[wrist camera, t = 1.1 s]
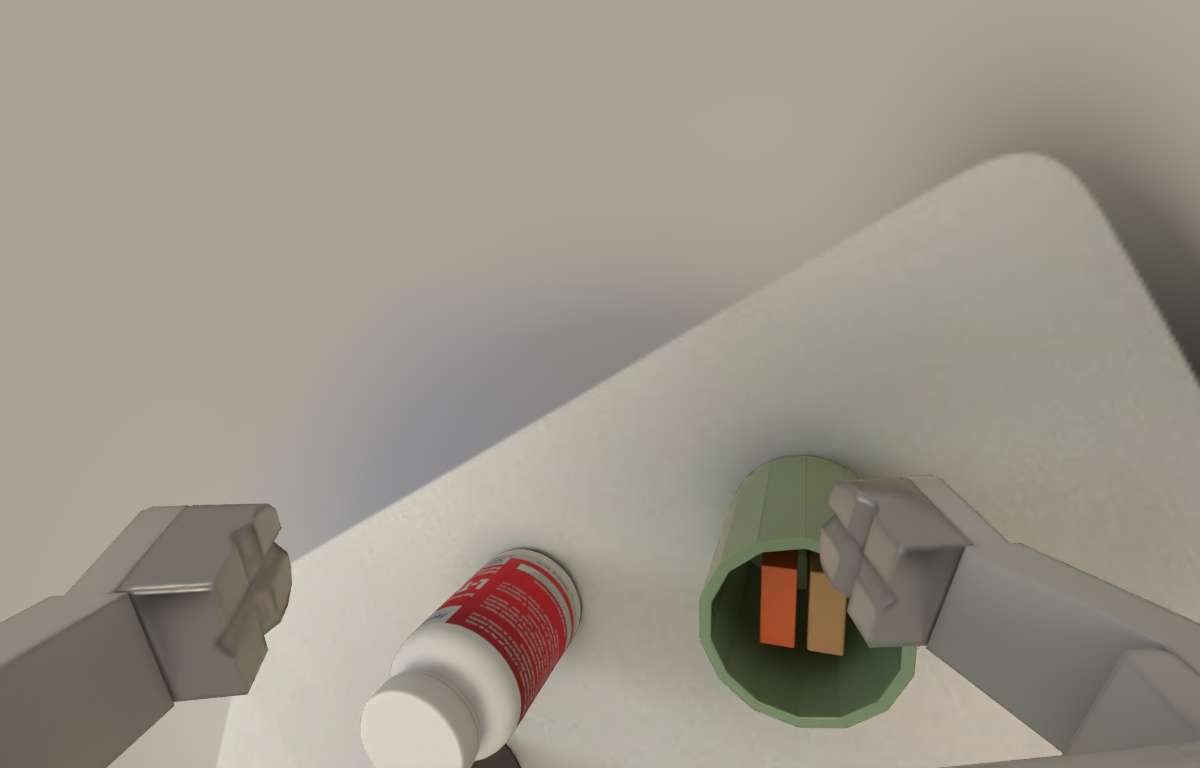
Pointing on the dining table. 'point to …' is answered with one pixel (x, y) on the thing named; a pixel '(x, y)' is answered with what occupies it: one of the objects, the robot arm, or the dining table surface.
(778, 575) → the block
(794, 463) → the green faceted canister
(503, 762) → the bottle
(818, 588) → the block
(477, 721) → the pill bottle
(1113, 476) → the dining table surface
